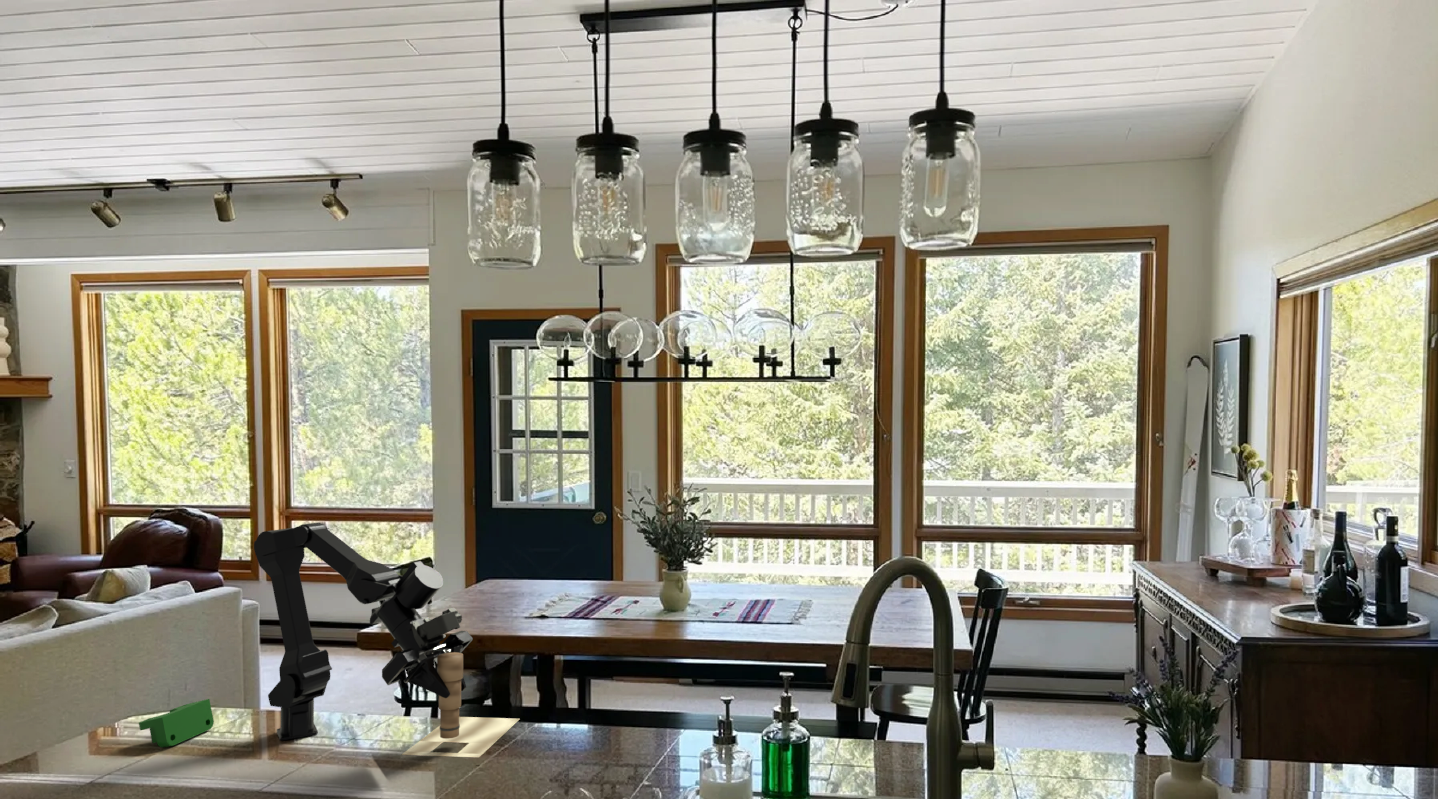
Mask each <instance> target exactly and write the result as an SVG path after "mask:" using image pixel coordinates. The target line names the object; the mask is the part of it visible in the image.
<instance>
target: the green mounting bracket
mask: <svg viewBox="0 0 1438 799" xmlns="http://www.w3.org/2000/svg"><path fill="white" fill-rule="evenodd" d="M214 722H215V721H214V715H213V711H212V705H211V701H210V698H206V699H202V700H198V701H194V702H190V703H187V704H186V703H185V704H182V705H180V706H177V707H175V708H172V709H169V712H167V713H164V714H161V715H157V716H152V717H149V718H146V719H144V720H141V721H139V722H138V726H139V731H144V730H148V729H149V734H150V738H151V743H152V744H155V743H156V744H157V746H158V747H160V748H161V749H163V748H168V747H173V746H175V745H178V744H179V743H182V742H184V741H186V740H187V741H188V740H189V739H192V738H193V737H195V736H198V735H201V734H202V733H205V732H207V731H209V730H211V729H212V728H213V726H214V725H215V724H214Z"/></svg>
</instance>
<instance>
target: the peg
mask: <svg viewBox="0 0 1438 799" xmlns="http://www.w3.org/2000/svg"><path fill="white" fill-rule="evenodd" d="M436 665H437V666H436V667H437V673H438V674H439V676H440V677H441V679H442V680H443V682H444V683H445V685H446V687H447V688H448V690H449V692H450V696H449V697H448V698H443V697H441V696H439V695H438V709H439V710H440V712H439V714H440V716H439V718H440V719H439V720H440V721H439V722H440V723H439V726H440V737H441V738H444V739H449V738H455V737H457V736H459V728H460V724H459V717H460V708H461V707H462V691H461V679H462V678H463V677H464V654H463V653H462V652H461V653H457V652H452V653H444V654H440V655H438V656H437V663H436Z"/></svg>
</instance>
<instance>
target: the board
mask: <svg viewBox="0 0 1438 799" xmlns="http://www.w3.org/2000/svg"><path fill="white" fill-rule="evenodd" d="M519 720H521V719H520V718H510V717H508V718H506V717H479V716H478V717H477V716H475V717H473V716H459V724H460V728H459V736H457V737H455V738H449V739H444V738H441V737H440V725H438V726H437V727H436V728H434V729H433V730H432V731H431V732H429V733H428V734H427V735H426V736H424V737H422V738H421V739H420V740H419V741H417V742H416V743H415V744H413V745H412V746H410V748H408V749H407V750H406V751H404V752H403V753H402V754H401V755H403V756H421V757H422V756H423V757H424V756H425V757H427V756H428V757H452V758H454V757H455V758H475V759H476V758H477V759H478V758H479V759H480V757H482V755H483V754H485V753H486V752H487V751H488V750H489V749H490V748H491V747H492V746H493V745H494V744H495V743H496V742H497V741H498V740H499V739H500V738H501V737H502V736H504V735H505V734H506V733H507V732H508V731H509V730H510V729H511V728H512V727H513V726H514V725H515V724H516V723H517V722H519ZM442 743H452V744H453V743H455V744H456V743H458V744H459V743H460V744H466V745H465V746H464V747H462V748H461V750H459V751H458V752H434V750H435V749H436V748H438V747H439V746H440V745H441V744H442ZM480 765H481V764H478V765H475V767H479V766H480Z"/></svg>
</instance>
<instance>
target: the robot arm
mask: <svg viewBox="0 0 1438 799" xmlns="http://www.w3.org/2000/svg"><path fill="white" fill-rule="evenodd" d="M253 549H254V553H255V556H256V560H257V562H258V565H259V568H261V569H262V571H264V572H265V573H266V574H267V575H268V576H269V577H270V580H271V585H272V591H273V596H274V602H275V606H276V612H277V615H278V616H277V617H278V621H279V626H280V630H281V631H280V632H281V636H282V641H283V647H284V654H283V657H282V660H281V663H280V666H279V670H278V671H279V681H278V682H277V684H276V685H275V686H274V687H273V688H272V690H271V691H270V692H269V693H268V695H267V698H268V702H269V705H270V706H271V707H275V708H276V707H277V708H280V727H279V728H276V734H277V737H278V738H279V741H287V740H292V739H298V738H299V739H300V738H302V737H303V738H304V737H308V736H309V737H310V736H315V735H318V733H319V731H318V728H317V727H316V725H315V722H314V720H315V719H314V718H315V716H314V715H315V699H316V698H319V697H323V696H324V695H325V692H326V690H327V684H328V683H329V681H330V680H331V671H332V670H333V668H332V666H331V663H330V659H329V652H328V650H327V649H322V650H320V649H319V647H318V646H317V645H316V644H315V643H314V639H313V634H312V630H311V624H310V619H309V614H308V609H307V604H306V600H305V595H304V589H303V584H302V579H301V573H300V570H301V567H302V564H303V562H304V558H305V557H306V556H305V549H307V550H309V552H312V554H314V555H315V556H316V557H317V558H319V559H320V560H321V561H322V562H324V563H325V564H326V565H327V566H329V567H330V568H331V569H332V570H333V571H335V572H336V573H338V575H340V576H341V577H342V578H343V579H344V580H345V581H346V587H347V589H348V591H349V592H350V593H351V594H352V595H353V597H354V598H355V599H356V600H357V601H358V603H360V604H362V605H368V604H373V603H377V602H381V601H382V603H381V604H380V605H379V606H378V607H374V608H372V609H371V614H370V615H371V616H370V618H369V624H370V625H374V624H377V623H381V622H382V624H383V625H384V627H385V628H386V629H387V630H388V632H389V634H390V635H391V636H392V637H393V641H392V642H391V643H390V644H391V646H392V647H393V648H397V647H399V648H400V649H401V651H399V652H396V653H395V654H394V655H393V656H392V658H391V659H390V660H389V661H388V662H387V663H386V665H385V666H384V667H383V668H382V669H381V678H382V679H383V681H384V682H385V683H386V686H390V685H393V684H395V683H399V681H400V680H401V677H402V674H401V672H403V671H406V672H405V673H406V675H407V676H406V677H405V679H403V682H404V683H405V684H407V683H410V684H412V685H414V686H416V687H419V688H422V689H424V690H427V691H428V692H431V693H433V694H435V695H437V696H438V697H439V696H441V697H443V698H448V697H449V696H450V692H449V690H448V688H447V687H446V685H445V683H444V682H443V680H442V679H441V677H440V676H439V674H438V673H437V666H435V662H436V664H437V656H438V655H440V654H444V653H452V652H457V653H462V652H463V651H465V649H466V648H467V647H468V646H469V644H471V642H472V641H473V637H472V636H471V633H470V632H468V630H459V631H456V632H453V633H451V634H449V635H448V636H446V634H448V633H449V632H451V631H454V630H458V629H460V628H461V625H460V624H461V623H462V621H463V615H462V614H461V613H460V612H459V611H458V610H457V609H456V607H448V608H447V609H446V610H443V611H442V613H441V615H438V616H436V617H433V618H430V617H429V616H426V617H422V616H421V615H420V613H419V612H418V611H417V610H420V609H423V608H424V607H425V606H426V605H427V604H428V603H429V602H430V601H431V599H432V598H434V596H435V595H436V594H437V593H438V592H439V590H441V588H442V587H443V586H444V579H443V576H442V575H441V573H440V572H439V571H438V570H436V569H434V568H432V567H431V566H428V565H425V564H424V562H422V561H421V560H417V561H413V562H412V563H411V564H410V565H409V566H408V568H407V569H406V571H405V572H404V574H398V573H397V571H396V570H394V569H392V568H390V567H389V566H387V565H386V564H383V563H381V562H377V561H373V560H370V559H369V560H368V559H367V558H365V557H363V556H362V555H361V554H360V553H358V552H357V551H356V550H354V548H351V547H350V546H349V545H348V544H347V543H346V542H344V540H342V539H340V538H339V537H338V536H336V534H334V533H333V532H332V531H331V530H329V529H328V527H327V526H326V524H324V523H321V522H312V523H311V522H310V523H302V524H300V525H298V526H296V527H290V528H289V527H287V528H281V529H273V530H266V531H262V532H261V533H259V534H258V535H257V538H256V540H255V541H254V543H253ZM446 637H447V638H446ZM445 638H446V639H445ZM444 639H445V640H444ZM442 641H443V642H442ZM441 642H442V643H441ZM464 677H465V676H463V678H462V679H461V692H463V691H465V689H466V688H467V685H466V682H465V678H464Z"/></svg>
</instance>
